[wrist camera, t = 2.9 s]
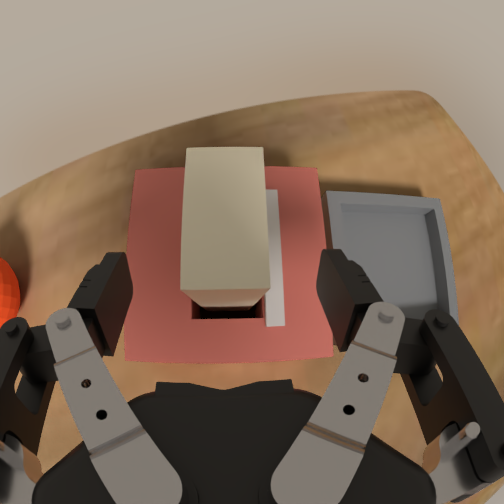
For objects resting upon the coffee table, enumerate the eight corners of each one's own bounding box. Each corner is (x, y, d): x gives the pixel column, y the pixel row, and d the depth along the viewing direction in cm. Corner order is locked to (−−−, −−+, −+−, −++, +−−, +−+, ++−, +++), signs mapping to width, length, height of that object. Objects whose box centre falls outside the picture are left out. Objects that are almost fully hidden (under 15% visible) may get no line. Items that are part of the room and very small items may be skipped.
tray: (425, 208, 25) (439, 198, 23) (442, 327, 22) (458, 326, 20) (317, 203, 24) (326, 190, 22) (328, 344, 21) (339, 345, 19)
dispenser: (300, 198, 24) (319, 163, 19) (311, 351, 21) (336, 357, 16) (152, 200, 23) (133, 165, 18) (147, 354, 20) (121, 361, 15)
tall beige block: (246, 237, 23) (263, 147, 11) (248, 310, 22) (270, 288, 10) (206, 237, 23) (186, 148, 11) (206, 311, 21) (180, 289, 10)
